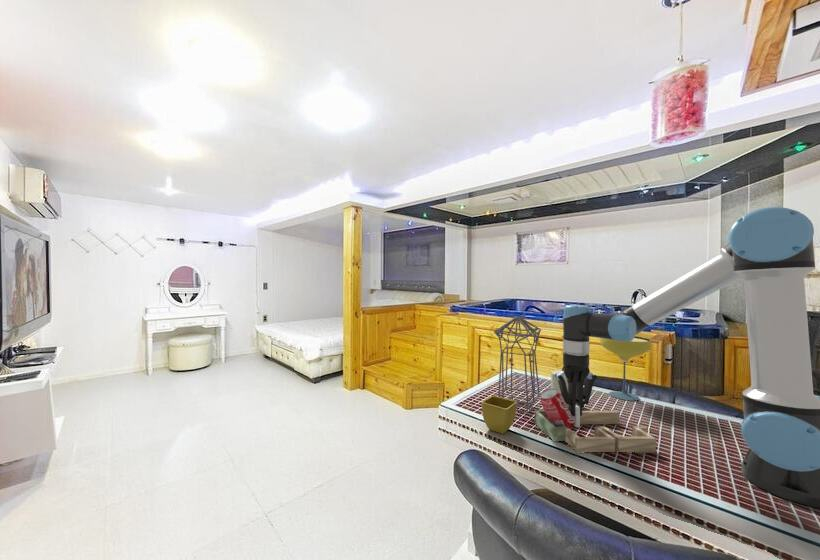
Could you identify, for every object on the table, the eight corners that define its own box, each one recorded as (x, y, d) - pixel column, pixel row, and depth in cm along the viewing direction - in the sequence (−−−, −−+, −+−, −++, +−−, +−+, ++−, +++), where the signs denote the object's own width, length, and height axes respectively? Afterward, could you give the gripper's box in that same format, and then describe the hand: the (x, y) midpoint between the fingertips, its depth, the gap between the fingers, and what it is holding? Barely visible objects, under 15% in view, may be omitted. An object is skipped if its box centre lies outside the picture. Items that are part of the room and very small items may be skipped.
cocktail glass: (615, 403, 126) (616, 341, 126) (591, 388, 144) (591, 333, 144) (661, 405, 125) (662, 342, 125) (631, 389, 143) (632, 334, 143)
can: (545, 399, 129) (545, 370, 129) (561, 396, 133) (561, 368, 133) (565, 408, 121) (565, 376, 121) (581, 404, 125) (581, 374, 125)
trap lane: (664, 452, 90) (664, 436, 90) (564, 453, 88) (564, 437, 88) (617, 422, 109) (617, 409, 109) (534, 422, 107) (534, 409, 107)
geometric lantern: (537, 419, 110) (535, 319, 110) (492, 410, 118) (491, 317, 119) (544, 404, 124) (542, 315, 124) (503, 397, 132) (502, 313, 132)
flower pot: (492, 420, 109) (492, 394, 109) (517, 428, 103) (517, 401, 103) (480, 430, 102) (480, 402, 102) (506, 438, 96) (507, 409, 96)
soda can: (571, 417, 105) (555, 384, 105) (580, 428, 98) (562, 393, 98) (551, 425, 105) (535, 393, 106) (558, 436, 98) (541, 402, 99)
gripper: (588, 350, 106) (587, 419, 106) (550, 350, 105) (550, 420, 105) (602, 355, 98) (602, 430, 98) (562, 355, 98) (562, 431, 98)
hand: (575, 425), depth 102 cm, fingers closed
